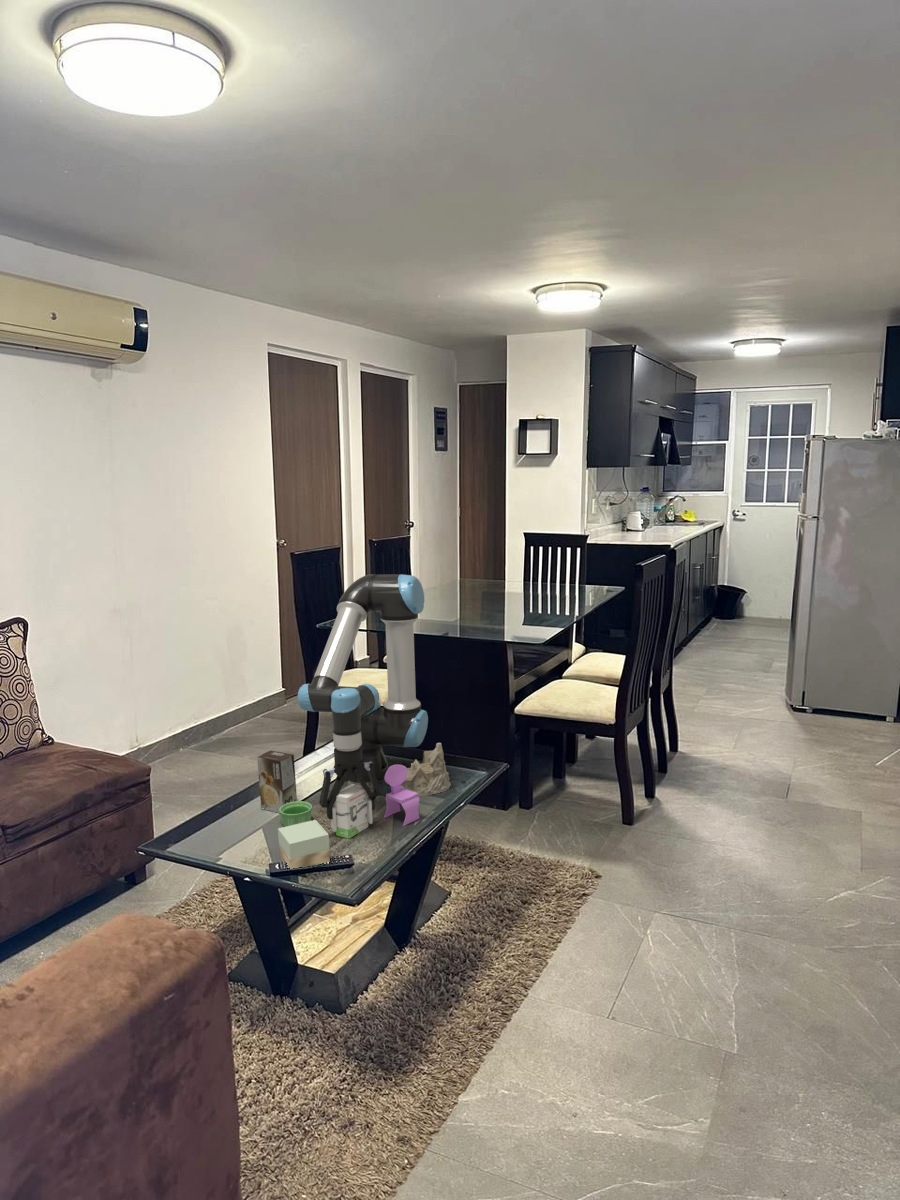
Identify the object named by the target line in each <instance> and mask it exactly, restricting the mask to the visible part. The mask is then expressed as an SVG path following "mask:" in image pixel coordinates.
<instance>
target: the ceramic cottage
mask: <svg viewBox="0 0 900 1200" xmlns="http://www.w3.org/2000/svg"><path fill="white" fill-rule="evenodd" d="M421 762H422V763H420V762H419V761H418V759H416V758H415V759H414V761H413V762H412V763H410V767H406V768H407V777H406V780H405V781H404V782H403V783H402V784H401V788H405V789H408V790H410V791H413V792H416V793H418V797H427V796H428V797H429V795H430V796H433V795H432V794H436V793H440V792H443V791H446V790H447V789H449V787H450V786H451V787H452V784H451V782H450V781H449V780H450V779H451V778H450V773H449V772H447V768H446V761H445V758H444V750H443V746H442V742H437V743H435V748H434V749H433V750H424V751H423V753H422V760H421ZM449 790H450V789H449Z"/></svg>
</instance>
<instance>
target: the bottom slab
mask: <svg viewBox="0 0 900 1200" xmlns="http://www.w3.org/2000/svg"><path fill="white" fill-rule="evenodd" d="M278 845H279V856H280V859H281V861H282V862H283V861H284V862H286V863H287V864H288V866H289V867H290V869H293V868H298V867H307V866H312V865H318V864H322V863H326V862H330V863H331V860H330V859H331V857H330V849H329V850H326V851H322V852H318V853H314V854H310V855H306V856H302V857H298V858H294V859H290V858H289V857H288V855H287V854H286V852H285V851H284V850H283V848H282V847H281V846H280V844H279V843H278ZM284 862H283V863H284Z"/></svg>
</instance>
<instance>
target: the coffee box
mask: <svg viewBox="0 0 900 1200" xmlns="http://www.w3.org/2000/svg"><path fill="white" fill-rule="evenodd" d="M294 755H295V754H293V753H287V752H282V751H281V752H280V751H275V750H268V751H266V752H264V753H262V754H261V755H259V756H257V757H256V761H257V773H258V781H259V782H258V784H259V785H258V786H259V796H260V809H261V808H264V809H267V810H266V811H268V810H270V812H274V813H278V814H280V811H279V809H280V807H281V806H283V805H284V804H287V803H290V802H296V801H298V798H297V797H298V796H297V782H296V769H295V768H296V767H295V756H294Z"/></svg>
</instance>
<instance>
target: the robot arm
mask: <svg viewBox="0 0 900 1200" xmlns="http://www.w3.org/2000/svg"><path fill="white" fill-rule="evenodd" d="M424 605H425V592H424V589H423V585H422V583H421V581H420V579H419V578H417V576H415V575H412V574H411V575H410V574H402V573H401V574H374V573H373V574H372V573H371V574H366V575H363V576H361V577H360V578H357V580H355V581H353V582H352V583H351V584H350V585H349V586H348V587H347V589H346V590H345V591H344V592H343V593H342V594H341V597H340V598H339V601H338V603H337V606H336V612H337V614H336V615H337V616H336V617H335V620H334V623H333V626H332V628H331V631H330V634H329V636H328V639H327V641H326V644H325V647H324V649H323V652H322V653H321V654H322V655H321V658H320V660H319V663H318V665H317V667H316V671H315V673H314V676H313V678H312V681H311V683H304V684H302V685H301V686H300V687H299V689H298V692H297V704H298V707H299V708H300V709H301V710H303V711H307V712H313V713H316V712H318V713H319V712H320V713H321V712H322V713H331V719H332V720H331V721H332V735H333V736H332V738H333V739H332V740H333V747H334V748H333V759H334V766H333V768H330V769H327V768H324V769H323V771H322V773H323V782H322V787H321V791H320V797H319V800H318V803H319V805H320V806H321V808H323V809H326V817H327V819H328V820H329V821H330V827H331V830H332V831H333V832H334V833H336V831H337V825H336V808H335V807H334V803H335V801H336V798H337V796H338V794H339V792H340V790H342V787H343V786H344V785H345V783H346V782H347V783H348V782H354V783H359V784H360V786H362V787H363V788H364V789H365V791H366V793H367V810H368V824H370V825H372V824H373V811H375V810H376V800H377V797H381V795H382V792H381V789H380V786H379V781H378V780H381V779H382V778H384V777H385V774H386V772H387V770H388V768H389V764H388V760H387V758H386V756H385V752H384V751H383V746H392V747H393V746H394V747H402V748H417V747H419V746H420V745H421V744H422V743H423V741H424V739H425V736H426V734H427V729H428V723H429V716H428V712H427V710H424V709H422V704H421V701H420V700H419V699H417V697H416V694H417V693H416V692H417V691H416V670H415V669H416V667H415V663H416V662H415V660H416V659H415V635H414V632H415V631H414V630H415V629H414V623H415V622H416V621H417V620H418V619H419V614H421V613H422V612H423V611H424V608H425V606H424ZM370 613H379V617H380V621H382V622H383V623H384V625H385V645H386V646H385V647H386V668H387V670H386V671H387V672H386V673H387V696H388V697H387V698H388V699H387V700H386V701H385V703H384V704H383V707H381V702H380V693H379V690H378V689H377V688H376V687H375V686H374V685H373V684H370V683H363V684H359V685H358V686H346V685H345V686H343V685H342V686H341V685H340V682H341V679H342V678H343V677H342V676H343V674H344V671H345V668H346V665H347V663H348V661H349V658H350V654H351V652H352V649H353V647H354V644H355V641H356V639H357V636H358V633H359V629H360V627H361V625H362V622H364V621H366V620H367V618H368V615H369V614H370ZM334 774H335V775H336V778H335V782H334V783H333V786H332V788H331V783H332V778H333V776H334ZM367 782H370V783H371V784H370V785H371V786H372V789H373V791H372V790H371V788H370V786H369V785H368V784H367ZM330 788H331V791H330ZM329 792H330V793H329Z"/></svg>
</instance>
